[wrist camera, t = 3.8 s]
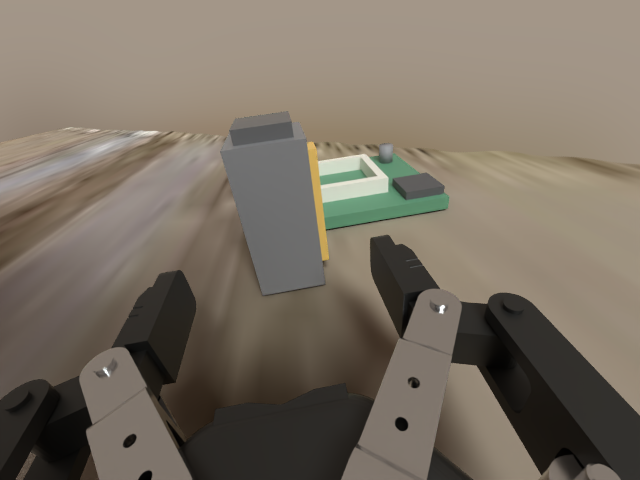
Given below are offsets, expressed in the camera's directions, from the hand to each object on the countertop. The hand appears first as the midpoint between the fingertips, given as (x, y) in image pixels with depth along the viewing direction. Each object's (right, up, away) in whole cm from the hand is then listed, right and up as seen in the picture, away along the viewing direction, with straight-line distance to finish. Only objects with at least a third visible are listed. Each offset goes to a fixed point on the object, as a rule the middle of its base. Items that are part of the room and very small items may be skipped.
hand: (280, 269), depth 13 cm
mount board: (+4, +6, +20) cm, 21 cm away
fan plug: (0, -1, +10) cm, 10 cm away
